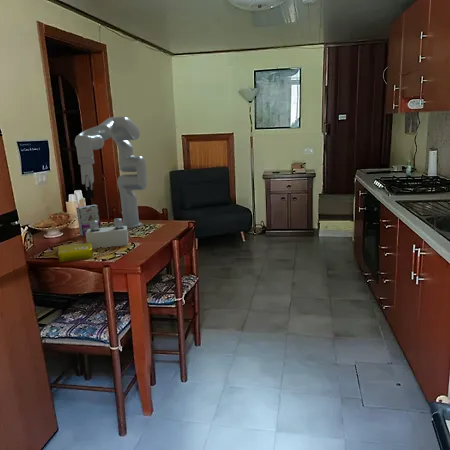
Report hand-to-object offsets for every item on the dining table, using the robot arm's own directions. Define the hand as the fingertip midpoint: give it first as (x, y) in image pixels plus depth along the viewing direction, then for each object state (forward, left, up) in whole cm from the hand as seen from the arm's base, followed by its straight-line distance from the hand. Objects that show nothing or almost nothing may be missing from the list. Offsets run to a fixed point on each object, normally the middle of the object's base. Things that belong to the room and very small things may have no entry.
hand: (90, 197), depth 208 cm
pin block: (0, +6, -25) cm, 26 cm away
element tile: (+15, -8, -26) cm, 31 cm away
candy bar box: (-28, -6, -25) cm, 38 cm away
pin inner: (0, +12, -18) cm, 22 cm away
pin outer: (0, 0, -18) cm, 18 cm away
